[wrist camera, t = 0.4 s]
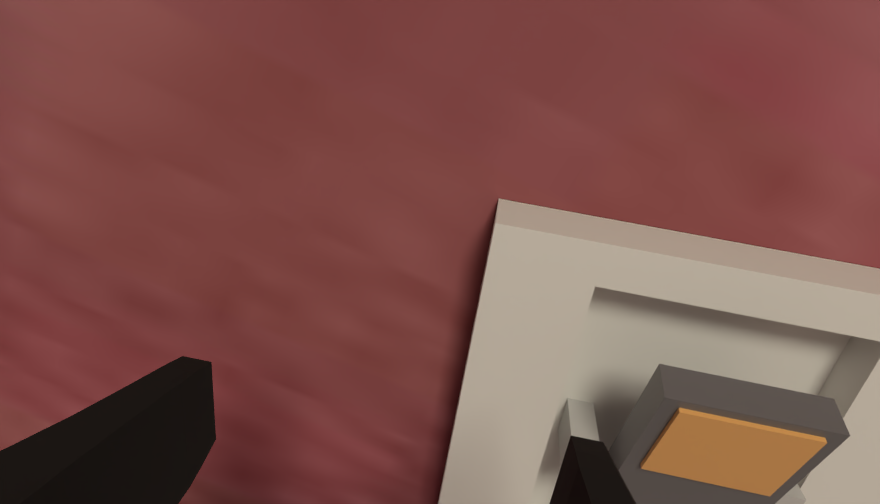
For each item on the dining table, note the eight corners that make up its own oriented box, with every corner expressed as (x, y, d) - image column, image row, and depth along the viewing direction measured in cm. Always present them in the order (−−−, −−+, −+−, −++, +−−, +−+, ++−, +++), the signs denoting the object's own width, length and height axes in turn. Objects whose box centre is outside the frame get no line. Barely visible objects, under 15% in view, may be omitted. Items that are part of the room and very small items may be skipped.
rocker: (684, 549, 23) (690, 584, 22) (566, 522, 23) (566, 556, 22) (833, 398, 16) (852, 440, 15) (659, 363, 16) (665, 402, 15)
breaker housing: (780, 590, 25) (816, 675, 22) (436, 511, 26) (423, 582, 23) (981, 287, 18) (1078, 349, 15) (498, 198, 19) (493, 238, 16)
